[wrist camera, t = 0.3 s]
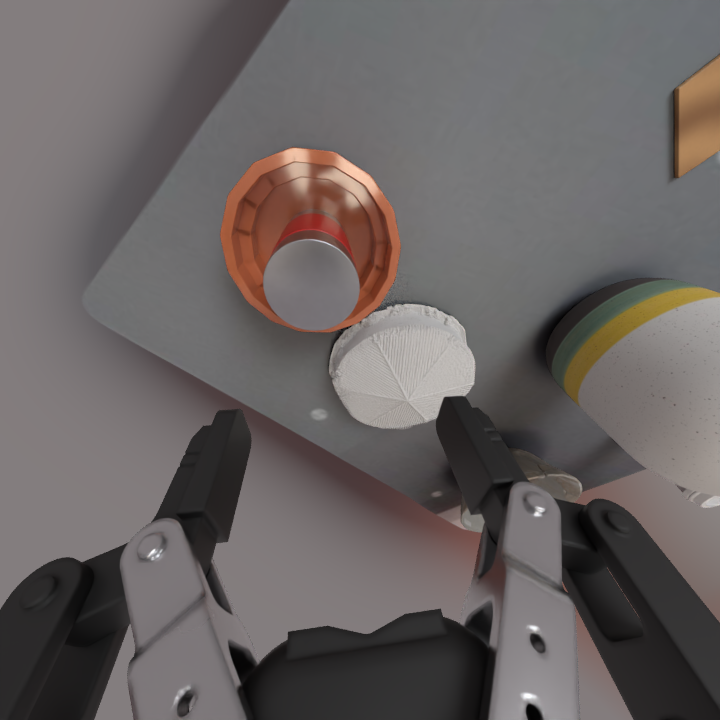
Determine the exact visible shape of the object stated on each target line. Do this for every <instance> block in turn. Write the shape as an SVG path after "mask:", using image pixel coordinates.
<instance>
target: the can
mask: <svg viewBox="0 0 720 720" xmlns="http://www.w3.org/2000/svg"><path fill="white" fill-rule="evenodd" d="M263 288H264V293H265V296H266V299H267V301H268V303H269V305H270V306H271V308H272V309H273V311H274V312H275V313H276V314H277V315H278V316H279V317H280V318H281V319H282V320H284V321H285V322H287V323H288V324H290V325H292V326H294V327H297V328H300V329H304V330H312V331H316V330H325V329H329V328H332V327H334V326H336V325H338V324H340V323H341V322H343V321H344V320H345V319H346V318H347V317H348V316H349V315H350V314H351V313H352V311H353V310H354V308H355V306H356V304H357V301H358V298H359V292H360V284H359V278H358V274H357V270H356V265H355V261H354V258H353V254H352V251H351V248H350V244H349V241H348V238H347V236H346V233H345V231H344V229H343V227H342V225H341V224H340V222H339V221H338V220H337V219H336V218H335V217H334V216H332V215H331V214H329V213H327V212H325V211H322V210H317V209H310V210H305V211H302V212H300V213H298V214H296V215H295V216H294V217H293V218H292V219H291V220H290V221H289V223H288V224H287V226H286V227H285V229H284V231H283V232H282V234H281V236H280V238H279V240H278V242H277V244H276V246H275V248H274V250H273V252H272V254H271V257H270V259H269V261H268V263H267V265H266V268H265V271H264V276H263Z"/></svg>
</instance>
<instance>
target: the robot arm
mask: <svg viewBox="0 0 720 720" xmlns="http://www.w3.org/2000/svg"><path fill="white" fill-rule="evenodd" d="M436 430H437V434H438V437H439V439H440V442H441V444H442V446H443V449H444V451H445V454H446V456H447V459H448V461H449V464H450V466H451V468H452V471H453V473H454V476H455V478H456V481H457V483H458V485H459V488H460V490H461V493H462V495H463V498H464V500H465V503H466V505H467V507H468V510H469V512H470V515H478V514H482V517H483V519H484V521H485V523H484V525H483V529H482V535H481V539H480V544H479V549H478V554H477V559H476V564H475V569H474V574H473V578H472V582H471V585H470V587H469V589H468V592H467V594H466V597H465V601H464V604H463V608H462V613H461V618H460V623H458V622H456V621H453V620H451V619H448V618H445V617H443V615H442V612H441V609H436V610H429V611H423V612H416V613H409V614H404V615H403V616H401V617H399V618H397V619H395V620H394V621H392V622H390V623H388V624H387V625H385V626H383V627H381V628H380V629H378V630H376V631H374V632H372V633H370V634H362V633H357V632H353V631H348V630H343V629H339V628H335V627H330V626H323V627H317V628H310V629H304V630H297V631H291V632H288V640H286V641H285V642H283V643H281V644H280V645H279V646H277V647H276V648H274V649H273V650H272V651H271V652H270V653H268V654H267V655H266V656H265V657H264V658H263V659H262V660H261V661H260V660H259V658H258V655H257V653H256V651H255V648H254V646H253V644H252V642H251V639H250V637H249V635H248V633H247V631H246V629H245V627H244V626H243V624H242V622H241V621H240V619H239V618H238V616H237V614H236V612H235V610H234V608H233V605H232V603H231V600H230V598H229V596H228V593H227V591H226V589H225V586H224V584H223V582H222V579H221V577H220V575H219V572H218V570H217V568H216V565H215V563H214V560H213V558H212V557H213V553H214V549H215V546H216V543H222V542H228V539H229V535H230V531H231V526H232V523H233V519H234V514H235V510H236V506H237V502H238V497H239V494H240V490H241V486H242V482H243V478H244V474H245V470H246V466H247V461H248V457H249V453H250V449H251V434H250V431H249V428H248V425H247V422H246V420H245V417H244V414H243V412H242V410H241V409H234V410H219V411H218V412H217V413H216V415H215V418H214V420H213V423H212V425H211V426H203V427H202V428H201V429H200V430H199V431H198V432H197V433H196V435H194V436H193V438H192V439H191V441H190V443H189V445H188V448H187V450H186V454H185V455H184V456H183V459H182V461H181V463H180V467H179V468H178V469H177V472H176V474H175V476H174V478H173V480H172V482H171V485H170V487H169V489H168V491H167V493H166V495H165V498H164V500H163V502H162V504H161V506H160V508H159V511H158V513H157V514H156V516H155V518H154V519H153V521H152V522H151V523H150V524H148V525H146V526H145V527H143V528H142V529H141V530H140V531H139V532H137V533H136V534H135V535H134V536H133V537H132V539H131V540H130V541H129V542H128V543H126V544H124V545H122V546H120V547H118V548H115V549H113V550H110V551H108V552H106V553H103V554H101V555H99V556H96V557H94V558H92V559H89V560H87V561H85V562H80V561H78V560H76V559H74V558H69V557H66V558H60V559H56V560H54V561H51V562H49V563H47V564H45V565H43V566H42V567H41V568H39V569H37V570H36V571H34V572H33V573H32V574H30V575H29V576H28V577H27V578H26V579H24V580H23V581H22V582H21V583H20V584H19V585H18V586H17V587H16V589H15V590H14V591H13V592H12V593H11V595H10V596H9V598H8V599H7V600H6V602H5V603H4V605H3V606H2V608H1V610H0V720H94V718H95V716H96V713H97V710H98V708H99V705H100V702H101V699H102V696H103V694H104V691H105V689H106V686H107V683H108V680H109V678H110V675H111V672H112V669H113V667H114V664H115V661H116V658H117V656H118V653H119V650H120V648H121V645H122V642H123V640H124V637H125V634H126V631H127V628H128V626H129V624H131V627H132V632H133V637H134V642H135V654H134V657H133V658H132V659H131V661H130V663H129V666H128V675H127V676H128V677H127V679H128V688H129V694H130V700H131V705H132V712H133V718H134V720H580V706H579V681H578V658H577V636H576V635H577V634H576V615H575V607H576V609H577V610H578V612H579V614H580V616H581V618H582V620H583V622H584V624H585V626H586V628H587V630H588V631H589V634H590V636H591V638H592V640H593V642H594V643H595V645H596V647H597V649H598V651H599V653H600V655H601V657H602V659H603V661H604V663H605V665H606V667H607V669H608V671H609V673H610V674H611V677H612V678H613V680H614V682H615V684H616V686H617V688H618V690H619V692H620V694H621V696H622V698H623V700H624V702H625V704H626V706H627V708H628V710H629V711H630V714H631V715H632V717H633V719H634V720H720V623H719V621H718V620H717V619H716V618H715V616H714V615H713V614H712V613H711V612H710V610H709V609H708V608H707V606H706V605H705V604H704V603H703V601H701V599H700V598H699V597H698V595H697V594H696V593H695V592H694V590H693V589H692V588H691V587H690V585H689V584H688V583H687V582H686V580H685V579H684V578H683V577H682V575H681V574H680V573H679V572H678V571H677V569H676V568H675V567H674V565H673V564H672V563H671V562H670V560H669V559H668V558H667V557H666V556H665V554H664V553H663V552H662V551H661V549H660V548H659V547H658V546H657V544H656V543H655V542H654V541H653V539H652V538H651V537H650V536H649V534H648V533H647V532H646V531H645V530H644V528H643V527H642V526H641V524H640V523H639V522H638V521H637V520H636V519H635V517H634V516H632V515H631V514H630V513H629V512H628V511H627V510H625V509H624V508H623V507H621V506H619V505H618V504H616V503H613V502H611V501H609V500H605V499H594V500H592V501H591V502H589V503H588V504H587V505H586V506H585V505H581V504H577V503H573V502H568V501H564V500H560V499H556V498H553V497H552V496H551V495H550V494H549V493H548V492H547V491H545V490H544V489H543V488H541V487H540V486H538V485H536V484H533V483H531V482H530V481H529V480H528V478H527V477H526V476H525V474H524V472H523V471H522V469H521V468H520V466H519V464H518V463H517V461H516V460H515V458H514V457H513V455H512V453H511V452H510V450H509V449H508V447H507V445H506V444H505V442H504V441H502V438H501V436H500V434H499V433H498V431H496V428H495V426H494V425H493V423H492V422H491V420H490V419H489V417H488V416H487V415H486V414H484V413H483V412H482V411H481V410H480V409H479V408H472V407H471V405H470V403H469V402H468V400H467V398H466V397H465V396H447V397H444V398H443V401H442V404H441V407H440V410H439V413H438V416H437V420H436ZM607 568H608V569H609V570H608V569H607ZM609 571H610V572H611V574H612V575H613V577H614V578H615V580H616V581H615V580H614V579H613V577H612V575H611V574H610V572H609ZM562 581H563V583H564V585H565V587H566V589H567V591H568V593H567V592H566V591H565V590H564V588H563V585H562ZM616 582H617V583H618V585H619V586H620V588H621V589H622V591H623V592H622V591H621V589H620V588H619V586H618V585H617V583H616ZM623 593H624V594H625V595H626V597H627V599H628V600H629V602H630V603H631V605H632V606H631V605H630V603H629V602H628V600H627V599H626V597H625V596H624V594H623ZM574 605H575V606H574ZM632 607H633V608H634V609H635V611H636V613H637V614H638V616H639V617H638V616H637V614H636V613H635V611H634V610H633V608H632ZM639 618H640V619H639ZM640 620H641V621H640ZM189 707H193V708H192V709H191V711H190V712H189Z"/></svg>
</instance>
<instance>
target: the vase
mask: <svg viewBox="0 0 720 720" xmlns="http://www.w3.org/2000/svg"><path fill="white" fill-rule="evenodd" d="M546 362H547V366H548V368H549V371H550V373H551V375H552V377H553V378H554V380H555V381H556V382H557V384H558V385H559V386H560V387H561V388H562V389H563V390H564V391H565V392H566V393H567V394H568V395H569V396H570V397H571V398H572V399H573V400H574V401H575V402H576V403H577V404H578V405H579V406H580V407H581V408H582V409H583V410H584V411H585V412H586V413H587V414H588V415H589V416H590V417H591V418H592V419H593V420H594V421H595V422H596V423H597V424H598V425H599V426H600V427H601V428H602V429H603V430H604V431H605V432H606V433H607V434H608V435H609V436H610V437H611V438H612V439H613V440H614V441H615V442H616V443H617V444H618V445H620V446H621V447H622V448H623V449H624V450H625V451H626V452H627V453H628V454H629V455H630V456H631V457H633V458H634V459H635V460H636V461H637V462H639V463H640V464H641V465H643V466H644V467H645V468H647V469H648V470H650V471H651V472H653V473H655V474H657V475H658V476H660V477H662V478H664V479H666V480H668V481H670V482H672V483H674V484H676V485H679V486H681V487H684V488H686V489H690V490H693V491H697V492H701V493H705V494H710V495H715V496H720V293H717V292H714V291H711V290H708V289H705V288H702V287H699V286H696V285H693V284H689V283H686V282H682V281H677V280H672V279H664V278H639V279H631V280H626V281H622V282H618V283H615V284H613V285H610V286H608V287H605V288H603V289H601V290H599V291H597V292H595V293H593V294H592V295H590V296H588V297H587V298H585V299H584V300H582V301H581V302H580V303H578V304H577V305H576V306H575V307H573V308H572V309H571V310H570V311H569V312H568V313H567V314H566V315H565V316H564V317H563V318H562V319H561V321H560V322H559V323H558V324H557V326H556V327H555V329H554V330H553V332H552V334H551V336H550V338H549V341H548V344H547V347H546Z"/></svg>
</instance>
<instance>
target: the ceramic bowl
mask: <svg viewBox="0 0 720 720" xmlns="http://www.w3.org/2000/svg"><path fill="white" fill-rule="evenodd" d="M508 449H509V450H510V452H511V453H512V455H513V457H514V458H515V460H516V461H517V463H518V464H519V466H520V468H521V469H522V471H523V472H524V474H525V476H526V477H527V478H528V480H529V481H530V482H531V483H533V484H536V485H538V486H540V487H541V488H543V489H544V490H545V491H547V492H548V493H549V494H550V495H551V496H552V497H553V498H556V499H560V500H564V501H568V502H573V503H574V502H575V501H576V500H577V499H578V498H579V497H580V495H581V493H582V486H581V483H580V482H579V481H578V479H576V478H575V477H573V476H571V475H569V474H567V473H565V472H564V471H562V470H560V469H558V468H556V467H553V466H551V465H550V464H548V463H546V462H545V461H543V460H542V459H540V458H539V457H537V456H535V455H533V454H531V453H529V452H527V451H524V450H521V449H517V448H508ZM461 523H462V525H463V526H464V527H465V528H466V529H468V530H471V531H475V532H482V529H483V525H484V523H485V521H484V519H483V517H482V514H478V515H470V512H469V510H468V507H467V505H466V503H465V500H464V498H463V495H462V501H461Z"/></svg>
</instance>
